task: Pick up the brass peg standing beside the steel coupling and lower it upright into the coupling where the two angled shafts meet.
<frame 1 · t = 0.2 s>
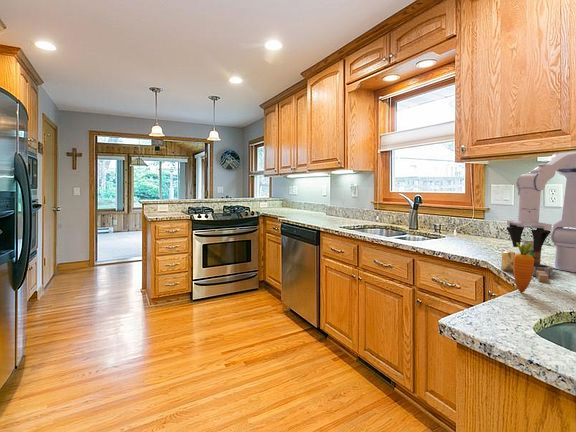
hand: (526, 248, 112), 10 cm above the countertop, fingers open, 7 cm apart
peg: (507, 270, 121), on the countertop
coupling: (537, 274, 117), on the countertop
food container: (529, 268, 126), on the countertop
carrot: (521, 293, 95), on the countertop
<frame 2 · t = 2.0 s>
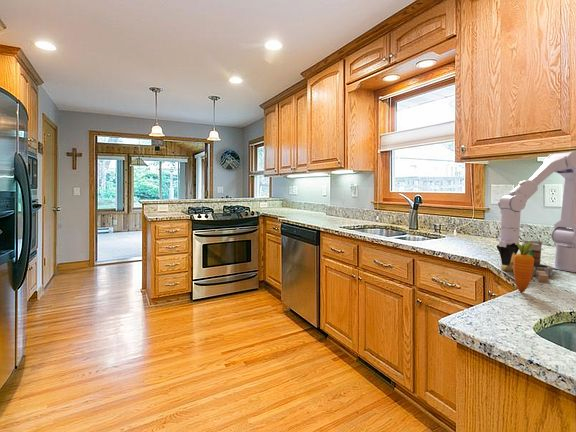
hand: (507, 264, 121), 2 cm above the countertop, fingers closed on peg, 4 cm apart
peg: (507, 270, 121), on the countertop, touching gripper
everything else where it was.
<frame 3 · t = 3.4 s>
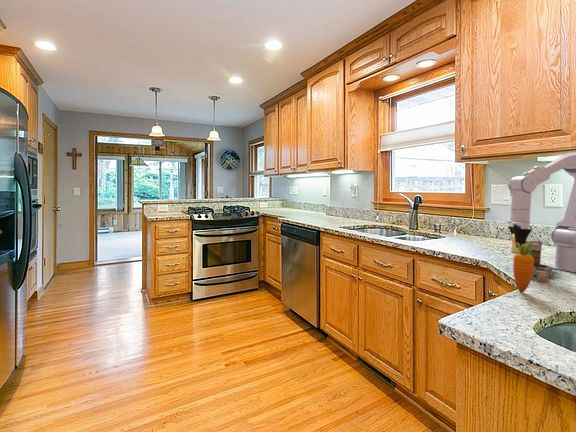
hand: (518, 246, 119), 9 cm above the countertop, fingers closed on peg, 4 cm apart
peg: (517, 253, 119), point 7 cm above the countertop, touching gripper
everything else where it was.
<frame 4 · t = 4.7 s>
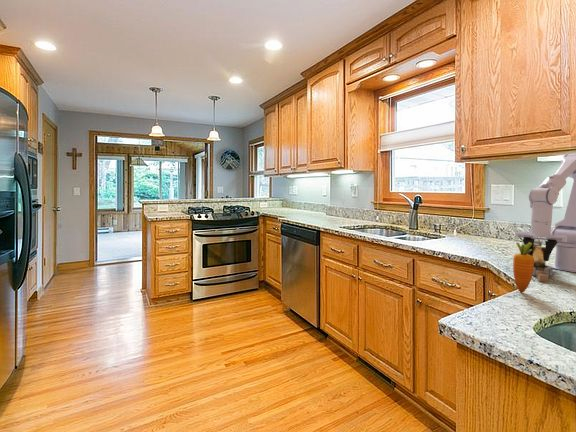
hand: (538, 259, 116), 5 cm above the countertop, fingers closed on peg, 4 cm apart
peg: (537, 266, 116), point 3 cm above the countertop, touching gripper
everything else where it was.
when the fingers open (4 cm above the countertop, at t = 5.3 s): peg drops 2 cm, resting in coupling.
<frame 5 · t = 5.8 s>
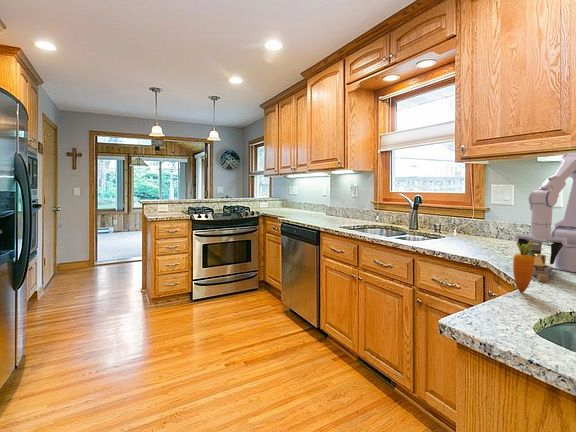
hand: (538, 261, 116), 4 cm above the countertop, fingers open, 7 cm apart
peg: (537, 274, 116), resting in coupling
everything else where it was.
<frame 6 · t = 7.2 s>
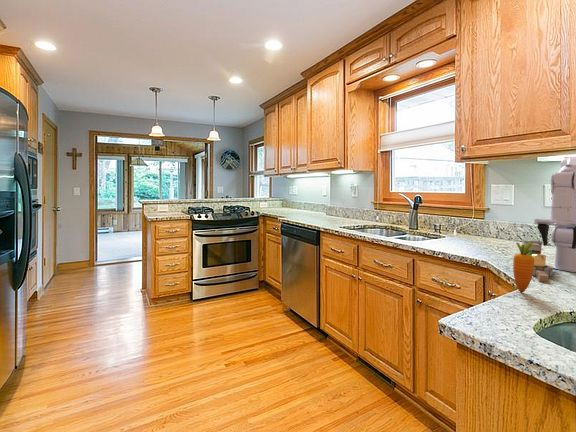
hand: (559, 247, 112), 10 cm above the countertop, fingers open, 7 cm apart
nothing on the countertop moved.
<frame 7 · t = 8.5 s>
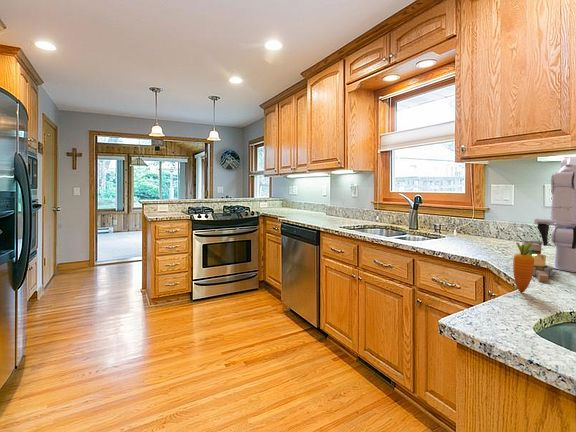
hand: (559, 247, 112), 10 cm above the countertop, fingers open, 7 cm apart
nothing on the countertop moved.
at the end: peg 0.1 cm off-centre on the coupling, point 0.0 cm above the coupling's base; peg tilted 0°; the gripper is holding nothing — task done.
